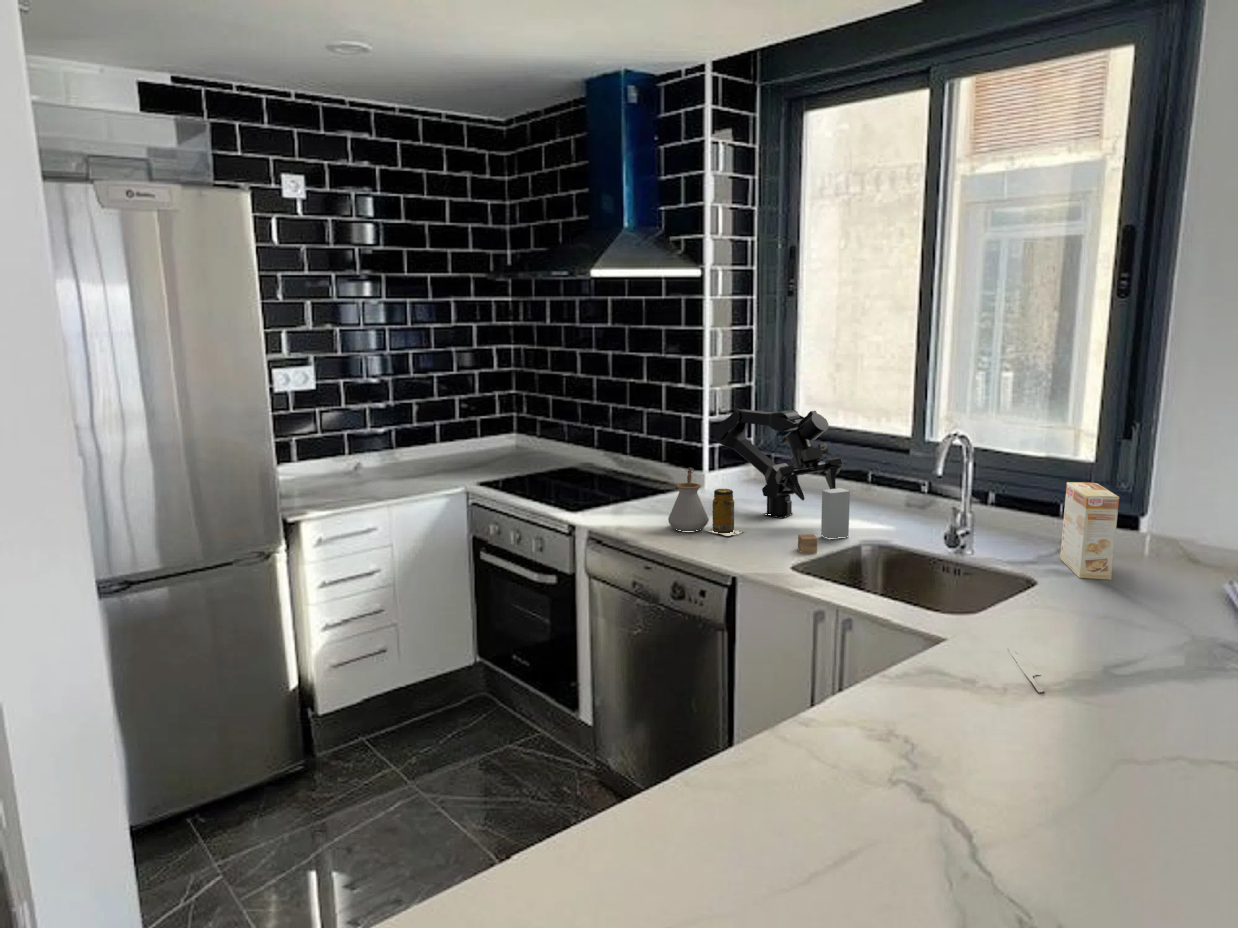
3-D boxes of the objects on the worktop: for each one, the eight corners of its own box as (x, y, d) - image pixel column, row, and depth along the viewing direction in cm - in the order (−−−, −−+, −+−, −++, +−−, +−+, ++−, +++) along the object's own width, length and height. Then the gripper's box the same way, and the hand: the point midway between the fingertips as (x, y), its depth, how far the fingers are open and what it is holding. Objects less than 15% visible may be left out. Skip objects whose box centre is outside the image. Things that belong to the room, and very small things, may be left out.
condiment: (723, 527, 243) (723, 486, 241) (745, 532, 237) (745, 491, 234) (705, 532, 238) (705, 490, 236) (727, 538, 232) (727, 495, 230)
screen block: (821, 536, 232) (822, 490, 229) (840, 533, 233) (841, 488, 231) (829, 540, 228) (830, 493, 225) (848, 537, 230) (849, 491, 227)
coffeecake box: (1112, 580, 192) (1120, 496, 189) (1078, 578, 194) (1085, 495, 190) (1090, 559, 207) (1097, 482, 203) (1058, 558, 208) (1065, 481, 204)
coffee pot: (708, 535, 235) (708, 482, 232) (666, 534, 237) (666, 482, 234) (709, 515, 256) (709, 466, 253) (671, 514, 257) (671, 466, 255)
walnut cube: (797, 548, 221) (797, 534, 220) (812, 548, 221) (813, 533, 220) (801, 553, 217) (801, 538, 216) (816, 553, 217) (817, 538, 216)
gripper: (777, 440, 234) (794, 489, 227) (839, 429, 237) (859, 478, 230) (768, 459, 244) (784, 507, 237) (828, 449, 247) (846, 496, 240)
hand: (819, 497), depth 236 cm, fingers open, 9 cm apart
